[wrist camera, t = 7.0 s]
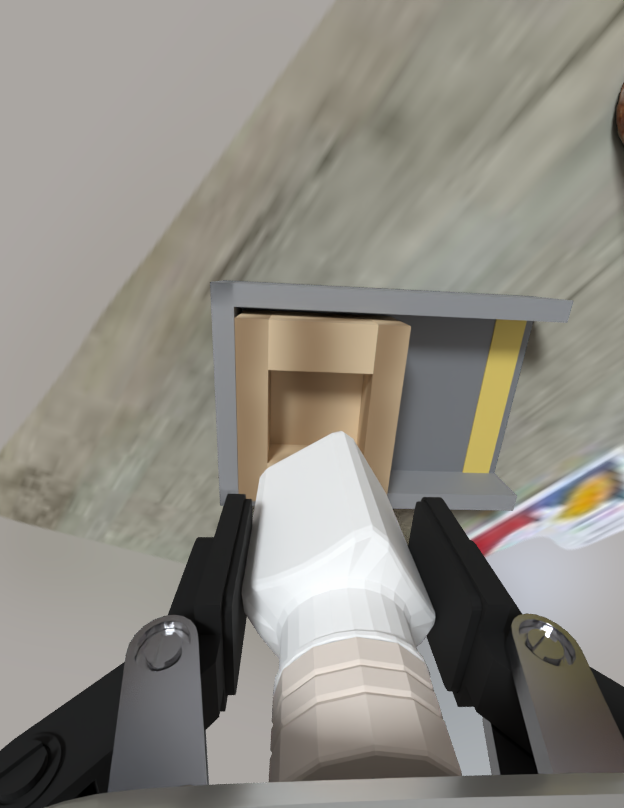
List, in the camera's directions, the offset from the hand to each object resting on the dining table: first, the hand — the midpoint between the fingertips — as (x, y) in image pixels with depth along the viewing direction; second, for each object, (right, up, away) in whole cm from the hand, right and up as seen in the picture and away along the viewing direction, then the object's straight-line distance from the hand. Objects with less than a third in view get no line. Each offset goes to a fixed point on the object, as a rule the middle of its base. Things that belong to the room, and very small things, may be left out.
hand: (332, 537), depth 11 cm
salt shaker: (0, +1, +3) cm, 4 cm away
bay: (+3, +5, +14) cm, 16 cm away
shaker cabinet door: (-1, +5, +13) cm, 14 cm away
